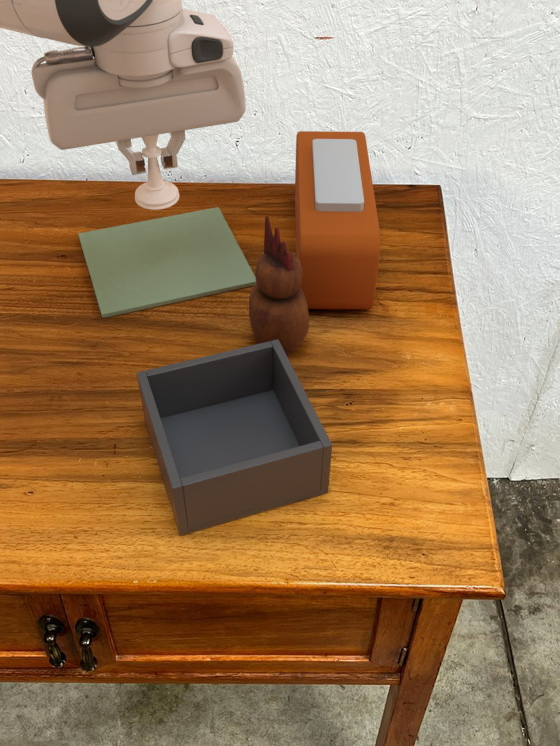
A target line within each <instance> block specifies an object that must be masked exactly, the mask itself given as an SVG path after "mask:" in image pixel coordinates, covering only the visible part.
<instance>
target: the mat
mask: <svg viewBox="0 0 560 746" xmlns="http://www.w3.org/2000/svg"><path fill="white" fill-rule="evenodd" d="M77 236H78V239H79V243H80V246H81V249H82V253H83V256H84V257H83V258H84V260H85V264H86V267H87V271H88V274H89V277H90V281H91V284H92V287H93V291H94V295H95V298H96V302H97V305H98V309H99V312H100V315H101V318H102V319H106V318H110V317H115V316H120V315H125V314H129V313H134V312H138V311H142V310H148V309H152V308H157V307H162V306H166V305H167V306H168V305H170V304H171V305H172V304H176V303H180V302H185V301H189V300H193V299H199V298H203V297H204V298H205V297H208V296H213V295H218V294H222V293H227V292H231V291H236V290H241V289H244V288H250V287H254V286H255V285H256V277H255V273H254V272H253V269H252V268H251V266H250V264H249V262H248V260H247V258H246V256H245V254H244V252H243V251H242V248H241V247H240V245H239V243H238V240H237V238H236V237H235V235H234V233H233V231H232V230H231V227H230V226H229V224H228V222H227V219H225V216H224V214H223V213H222V211H221V209H220V206H215V207H211V208H205V209H199V210H195V211H190V212H184V213H180V214H179V213H178V214H173V215H168V216H163V217H158V218H157V217H156V218H152V219H147V220H142V221H135V222H131V223H126V224H125V223H124V224H120V225H115V226H111V227H110V226H109V227H105V228H99V229H95V230H88V231H83V232H79V233H77Z"/></svg>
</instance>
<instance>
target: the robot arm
mask: <svg viewBox="0 0 560 746" xmlns="http://www.w3.org/2000/svg"><path fill="white" fill-rule="evenodd" d="M0 29H2V30H3V29H4V30H7V31H12V32H16V33H20V34H23V35H28V36H32V37H37V38H40V39H46V40H50V41H54V42H59V43H63V44H68V45H73V46H78V47H72V48H68V49H64V50H58V49H57V50H55V49H54V50H49V51H46V52H44V53H43V56H42V57H40V58H38V59H37V60H36V61H35V62H34V63H33V64H32V67H31V78H32V82H33V87H34V90H35V92H36V94H37V95H38V96H39V97H40V98H41V99H43V111H44V119H45V125H46V129H47V134H48V138H49V141H50V142H51V144H52V145H54V146H55V147H56V148H58V149H59V150H62V151H63V150H64V151H65V150H71V149H77V148H84V147H90V146H96V145H101V144H109V143H115V145H116V147H117V149H118V151H119V152H120V153H121V155H123V156H124V157H125V158H126V160H127V161H128V167H129V170H130V172H131V175H132V176H137V175H141V174H142V175H143V174H147V169H146V167H145V166H146V161H145V157H144V156H143V155H142V151H135V152H134V151H133V150H132V149H131V148H132V141H131V140H132V139H139V138H141V137H146V136H152V135H158V134H159V135H162V134H163V135H165V134H169V135H170V138H169V140H168V142H167V145H166V147H160V148H161V150H162V154H161V155H160V164H161V166H162V168H163V170H164V171H165V170H170V169H175V168H178V154H179V152H180V150H181V148H182V146H183V144H184V143H185V141H186V131H189V130H195V129H201V128H202V129H203V128H207V127H212V126H213V127H215V126H220V125H226V124H232V123H238V122H239V121H240V120H241V119H242V118H243V116H244V115H245V113H246V110H247V109H246V108H247V107H246V95H245V86H244V79H243V75H242V72H241V68H240V66H239V64H238V63H237V61H236V60H235V59H234V57H233V55H234V41H233V39H232V36H231V34H230V33H229V31H228V30H227V28H226V27H225V26H224V24H223V23H222V22H221V21H220V20H219V19H218V18H217V17H215V16H214V15H213V14H210V13H206V12H203V11H196V10H192V9H187V8H183V2H182V0H0ZM159 135H158V136H159Z"/></svg>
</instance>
